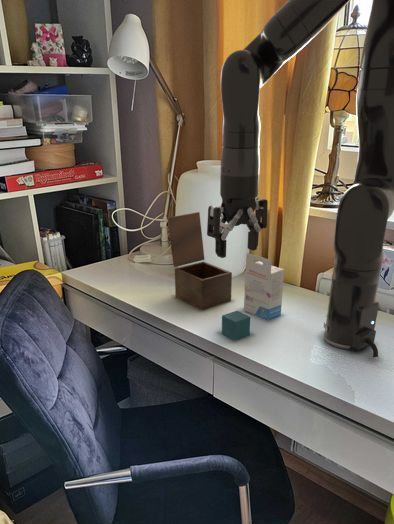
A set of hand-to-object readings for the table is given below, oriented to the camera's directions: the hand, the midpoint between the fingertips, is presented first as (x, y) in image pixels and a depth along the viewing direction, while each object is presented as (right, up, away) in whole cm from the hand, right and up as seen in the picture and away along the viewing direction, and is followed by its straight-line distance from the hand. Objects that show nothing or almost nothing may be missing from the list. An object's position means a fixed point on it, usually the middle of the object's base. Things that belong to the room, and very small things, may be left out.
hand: (237, 253), depth 100 cm
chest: (-7, -7, +25) cm, 27 cm away
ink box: (+8, -11, +17) cm, 22 cm away
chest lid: (-11, +8, +23) cm, 27 cm away
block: (0, -17, +7) cm, 18 cm away
